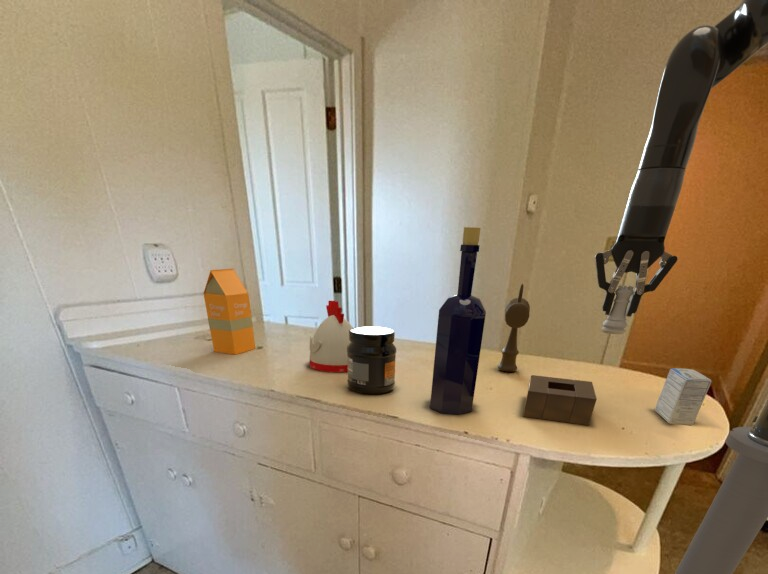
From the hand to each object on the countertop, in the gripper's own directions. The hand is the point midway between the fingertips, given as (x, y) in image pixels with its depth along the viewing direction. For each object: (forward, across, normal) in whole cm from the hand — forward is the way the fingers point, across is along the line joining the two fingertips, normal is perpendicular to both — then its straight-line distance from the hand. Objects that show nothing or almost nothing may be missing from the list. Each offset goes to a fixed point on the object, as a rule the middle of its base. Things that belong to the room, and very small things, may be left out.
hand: (617, 314), depth 81 cm
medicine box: (+17, +15, -4) cm, 23 cm away
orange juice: (+17, -94, +7) cm, 96 cm away
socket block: (+17, -7, -9) cm, 21 cm away
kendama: (+17, -20, +19) cm, 32 cm away
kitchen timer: (+17, -61, +4) cm, 64 cm away
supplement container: (+17, -46, -11) cm, 51 cm away
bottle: (+17, -27, -16) cm, 36 cm away
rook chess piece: (+3, 0, 0) cm, 3 cm away
